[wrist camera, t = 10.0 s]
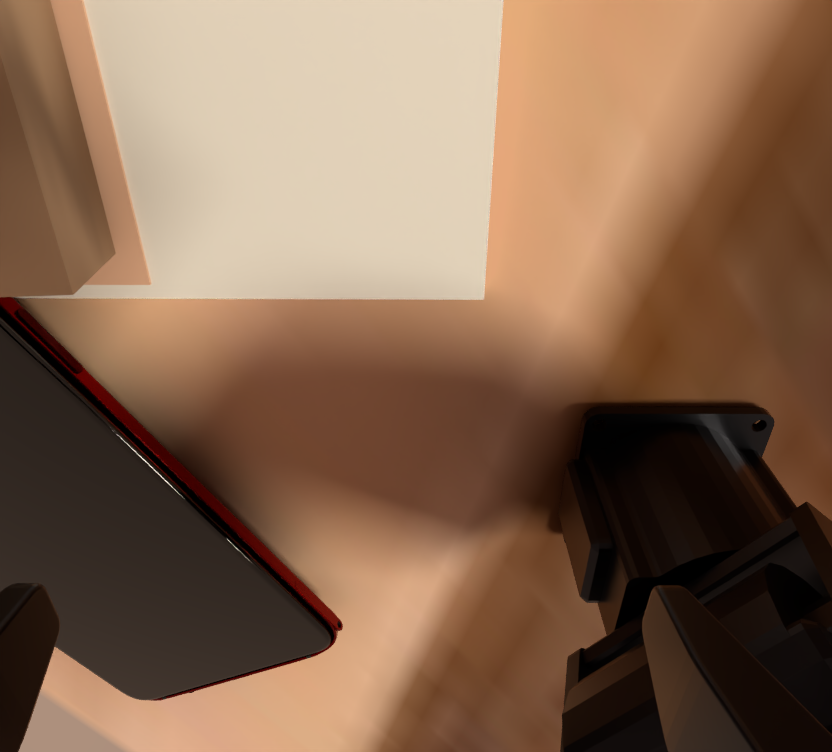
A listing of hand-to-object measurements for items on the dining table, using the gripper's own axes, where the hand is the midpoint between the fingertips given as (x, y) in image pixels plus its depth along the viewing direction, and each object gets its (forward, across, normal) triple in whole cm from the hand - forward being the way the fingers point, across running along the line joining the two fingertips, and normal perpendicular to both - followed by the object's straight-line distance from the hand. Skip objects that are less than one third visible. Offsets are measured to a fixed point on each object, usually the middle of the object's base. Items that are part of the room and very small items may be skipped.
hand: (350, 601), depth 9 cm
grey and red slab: (+12, +13, +8) cm, 19 cm away
